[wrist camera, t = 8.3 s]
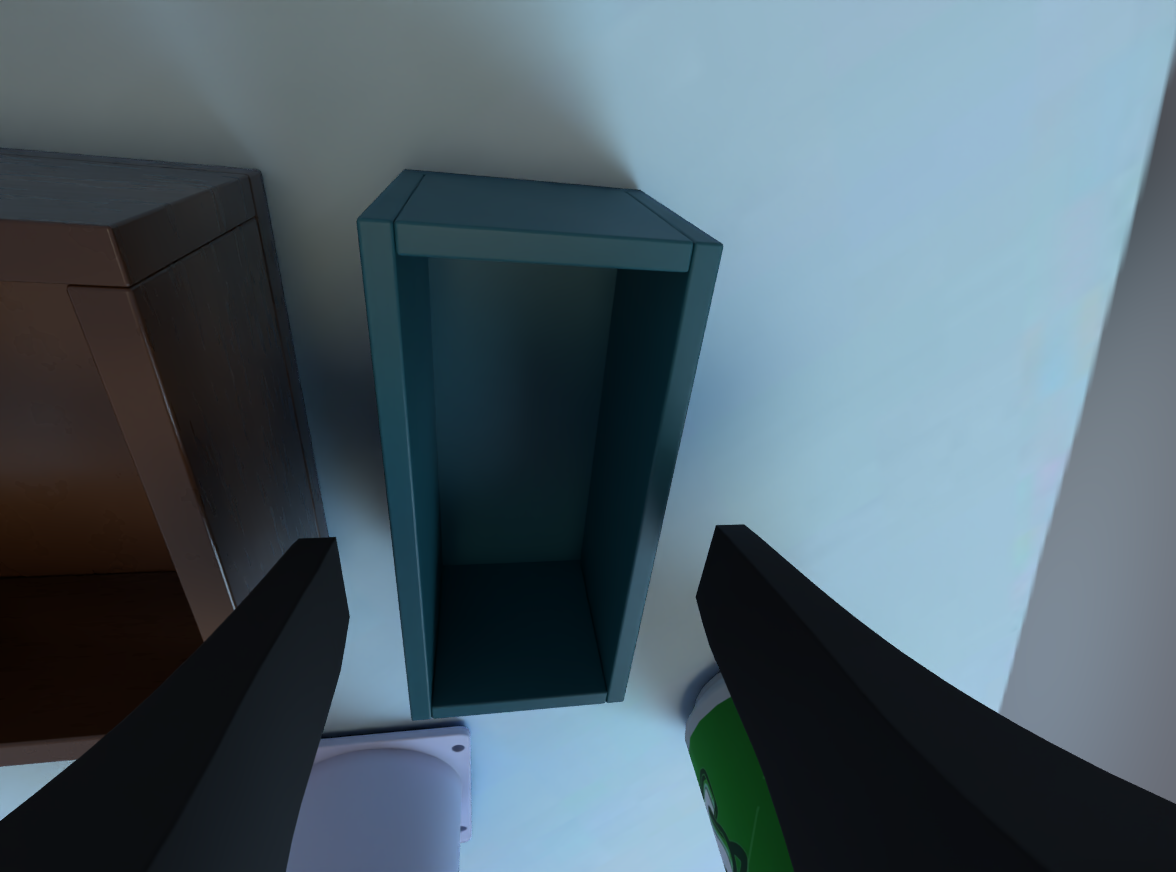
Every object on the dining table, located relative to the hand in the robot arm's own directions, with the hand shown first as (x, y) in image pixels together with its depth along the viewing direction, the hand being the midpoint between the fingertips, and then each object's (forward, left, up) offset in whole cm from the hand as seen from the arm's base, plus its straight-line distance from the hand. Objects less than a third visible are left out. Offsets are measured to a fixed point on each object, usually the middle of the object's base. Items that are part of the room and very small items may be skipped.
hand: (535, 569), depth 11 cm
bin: (0, 0, -6) cm, 6 cm away
